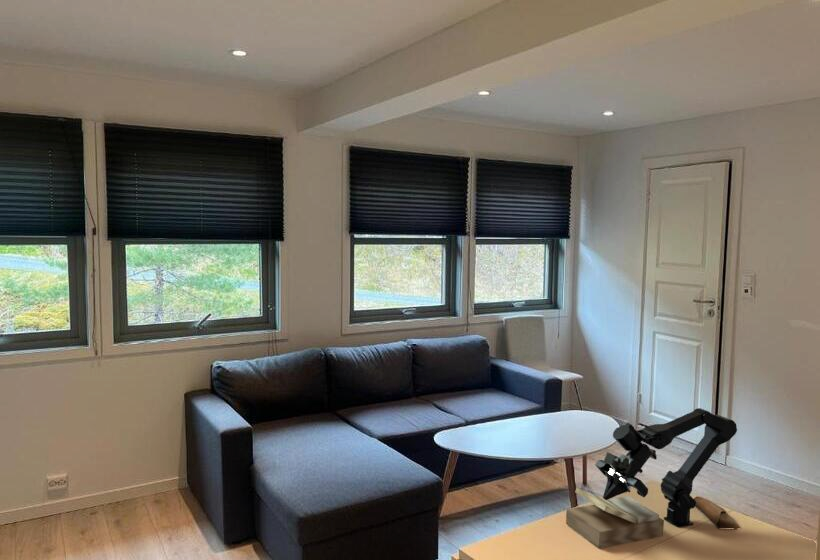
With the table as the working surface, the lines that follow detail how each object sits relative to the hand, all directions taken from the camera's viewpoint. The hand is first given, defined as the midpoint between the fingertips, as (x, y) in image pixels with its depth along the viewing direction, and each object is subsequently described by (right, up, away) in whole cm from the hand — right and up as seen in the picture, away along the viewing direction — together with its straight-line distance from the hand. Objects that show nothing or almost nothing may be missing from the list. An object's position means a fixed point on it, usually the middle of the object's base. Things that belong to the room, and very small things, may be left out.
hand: (604, 498), depth 183 cm
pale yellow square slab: (0, -3, 0) cm, 3 cm away
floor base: (+4, -10, +2) cm, 11 cm away
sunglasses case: (+41, -11, +13) cm, 45 cm away
